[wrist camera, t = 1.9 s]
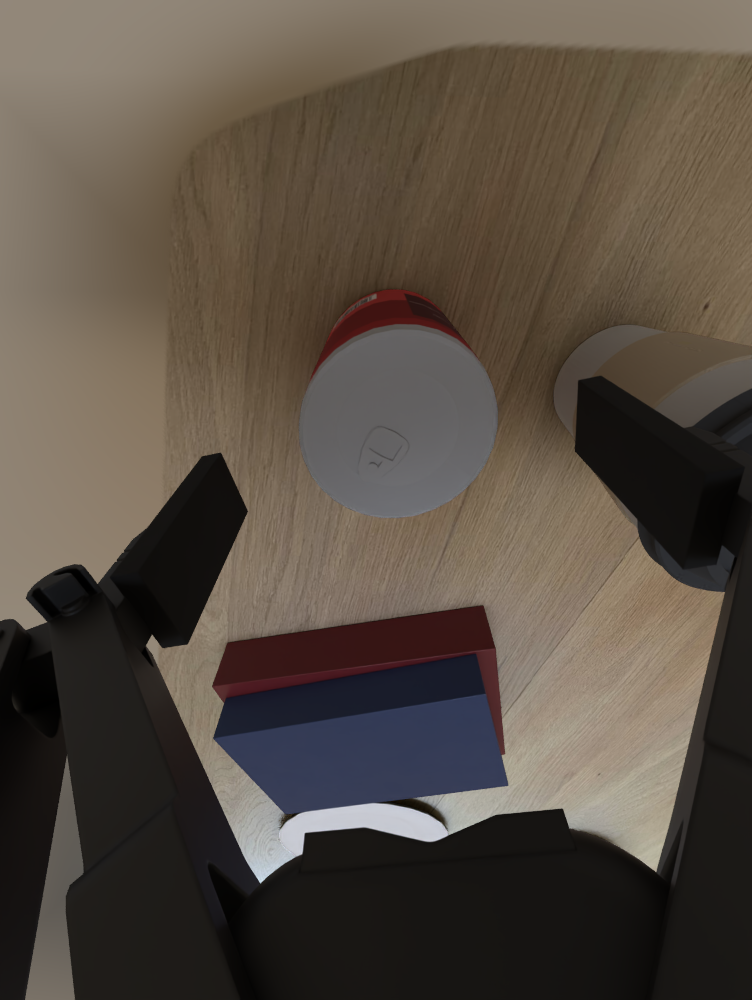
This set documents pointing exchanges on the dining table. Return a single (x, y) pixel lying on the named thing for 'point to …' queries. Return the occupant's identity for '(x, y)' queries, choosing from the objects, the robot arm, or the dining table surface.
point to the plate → (362, 823)
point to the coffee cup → (669, 403)
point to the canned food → (396, 409)
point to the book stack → (365, 711)
